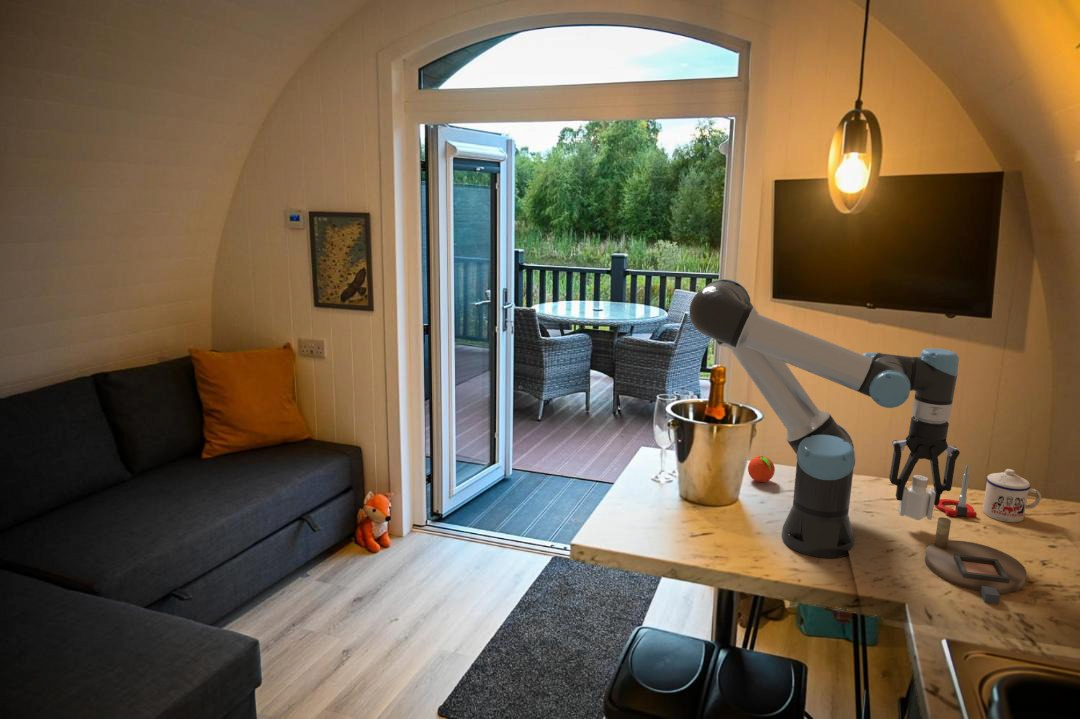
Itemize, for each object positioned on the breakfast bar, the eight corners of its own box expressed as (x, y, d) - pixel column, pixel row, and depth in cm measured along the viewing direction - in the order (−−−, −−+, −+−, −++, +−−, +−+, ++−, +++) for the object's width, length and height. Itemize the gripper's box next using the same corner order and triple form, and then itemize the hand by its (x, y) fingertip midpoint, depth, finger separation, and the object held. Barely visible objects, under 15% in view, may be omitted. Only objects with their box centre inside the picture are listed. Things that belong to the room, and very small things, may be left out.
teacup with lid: (988, 521, 180) (995, 475, 178) (976, 505, 189) (983, 461, 186) (1044, 526, 178) (1052, 480, 175) (1029, 510, 186) (1037, 466, 184)
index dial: (991, 602, 144) (997, 564, 142) (906, 560, 159) (910, 526, 157) (1043, 579, 152) (1050, 542, 150) (958, 541, 167) (963, 508, 165)
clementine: (781, 486, 200) (783, 461, 198) (757, 489, 198) (759, 463, 196) (764, 475, 207) (766, 450, 205) (742, 477, 205) (743, 453, 204)
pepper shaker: (919, 521, 170) (925, 482, 168) (901, 515, 173) (907, 476, 171) (927, 517, 173) (933, 478, 170) (909, 510, 176) (915, 472, 173)
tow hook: (929, 502, 192) (943, 516, 183) (936, 453, 189) (950, 465, 180) (965, 504, 190) (980, 519, 182) (972, 455, 188) (987, 468, 179)
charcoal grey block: (983, 607, 144) (985, 593, 143) (979, 599, 147) (981, 585, 146) (997, 609, 143) (1000, 595, 143) (993, 601, 146) (995, 587, 145)
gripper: (888, 419, 166) (874, 516, 172) (980, 428, 161) (962, 528, 167) (883, 409, 173) (869, 502, 179) (971, 418, 168) (954, 513, 174)
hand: (914, 514), depth 173 cm, fingers closed on pepper shaker, 5 cm apart
